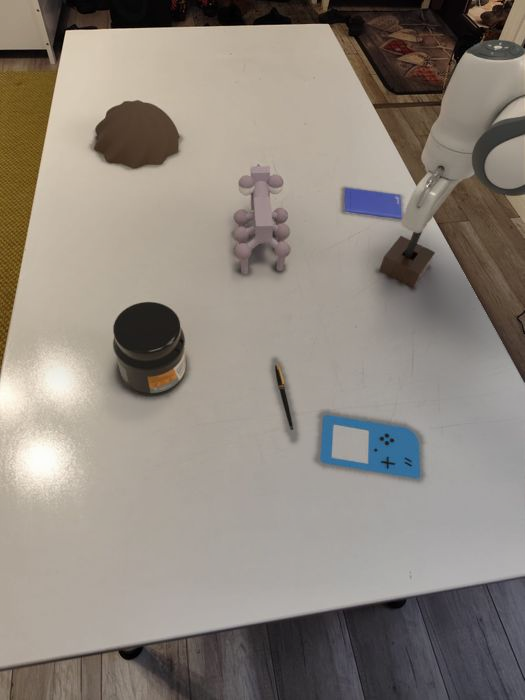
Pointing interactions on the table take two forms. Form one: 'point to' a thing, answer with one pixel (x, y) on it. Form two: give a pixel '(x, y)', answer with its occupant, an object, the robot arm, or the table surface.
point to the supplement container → (149, 348)
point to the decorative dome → (136, 135)
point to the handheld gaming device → (376, 447)
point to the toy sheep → (261, 217)
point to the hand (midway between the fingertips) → (422, 222)
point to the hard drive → (373, 203)
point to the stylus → (412, 244)
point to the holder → (406, 262)
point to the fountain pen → (283, 394)
